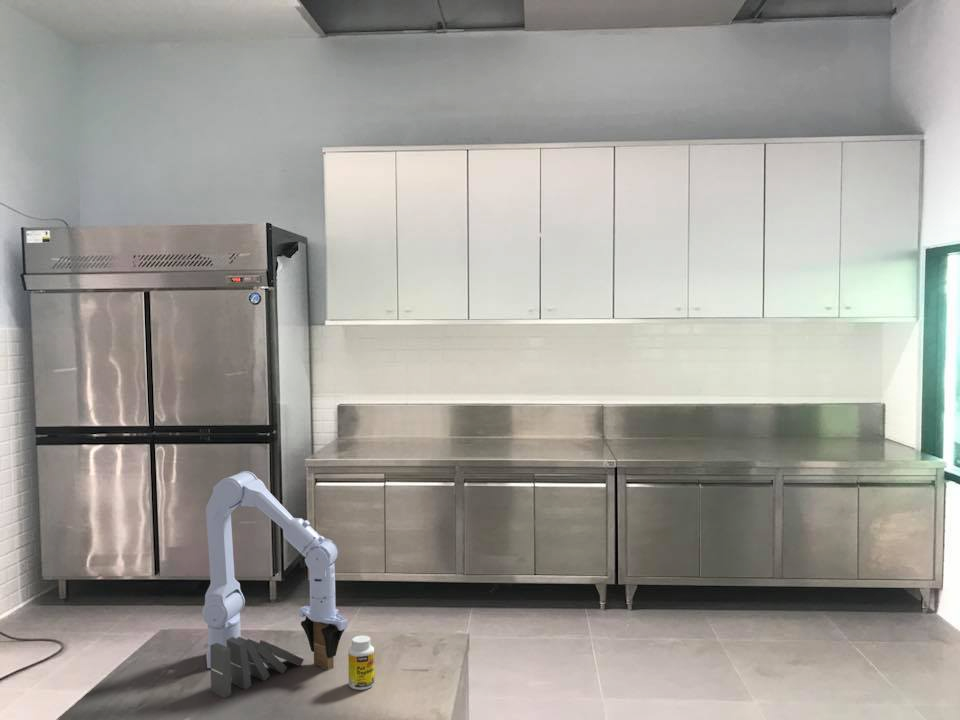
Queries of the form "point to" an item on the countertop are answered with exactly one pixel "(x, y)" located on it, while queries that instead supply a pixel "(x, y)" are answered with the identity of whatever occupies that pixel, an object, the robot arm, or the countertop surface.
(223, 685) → the domino
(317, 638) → the walnut domino
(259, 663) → the domino
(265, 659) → the domino
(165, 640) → the countertop surface
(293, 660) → the domino
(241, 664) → the domino
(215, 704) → the countertop surface
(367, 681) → the supplement bottle
